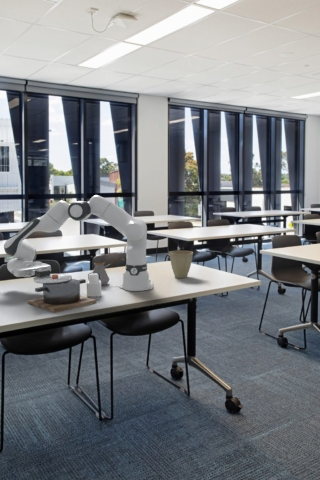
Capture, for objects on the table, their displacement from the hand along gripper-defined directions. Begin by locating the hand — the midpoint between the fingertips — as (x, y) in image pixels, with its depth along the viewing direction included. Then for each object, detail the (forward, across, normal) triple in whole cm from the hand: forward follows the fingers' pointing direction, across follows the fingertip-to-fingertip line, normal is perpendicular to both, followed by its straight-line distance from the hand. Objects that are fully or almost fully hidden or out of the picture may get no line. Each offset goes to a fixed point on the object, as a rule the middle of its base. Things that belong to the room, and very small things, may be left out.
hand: (40, 272), depth 240 cm
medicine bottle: (+18, +21, +13) cm, 31 cm away
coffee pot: (+2, +44, +13) cm, 45 cm away
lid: (+11, 0, +2) cm, 11 cm away
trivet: (+20, 0, +13) cm, 23 cm away
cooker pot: (+20, 0, +11) cm, 23 cm away
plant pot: (+22, +87, +13) cm, 91 cm away
